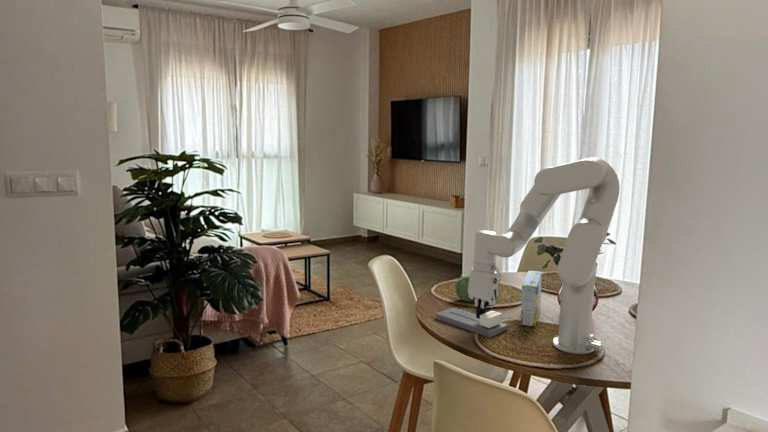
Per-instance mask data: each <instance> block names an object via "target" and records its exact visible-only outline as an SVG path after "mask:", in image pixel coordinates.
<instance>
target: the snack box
mask: <svg viewBox="0 0 768 432" xmlns="http://www.w3.org/2000/svg"><path fill="white" fill-rule="evenodd" d="M542 273H543V272H542V271H540V270H539V271H538V270H528V271H527V274H526V276H525V278H524V280H523V282H522V284H521V310H520V311H521V313H520V315H521V317H520V326H523V325H526V326H525V327H531V326H534V327H533V328H536V327H537V326H536V325H537V321H538V318H539V315H540V312H541V300H542V299H541V298H542Z"/></svg>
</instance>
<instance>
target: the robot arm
mask: <svg viewBox="0 0 768 432" xmlns="http://www.w3.org/2000/svg"><path fill="white" fill-rule="evenodd" d="M533 181H534V182H533V185H532V187H531V188H530V190H529V191H528V193H527V194H526V196H525V197H524V198H523V200H522V201H521V202H520V205H519V212H518V215H517V217H516V218H515V220H514V222H512V224H511V226H510V227H509V228H508V229H507V232H504V233H502V234H498V233H497V232H496V231H494V230H489V229H481V230H480V229H479V230H477V231H476V232H475V235H474V246H473V248H474V250H473V261H472V262H473V263H472V265H473V266H472V267H471V270H470V273H469V276H470V277H469V284H468V294H469V298H471V299H472V300H473V303H474V306H475V308H476V311H475V314H476V318H479V319H480V315H481V314H484V313H487V308H486V307H488V306H489V305H494V306H495V305H497V301H496V300H498V299H499V292H500V290H499V289H500V287H499V286H500V285H499V284H500V283H499V282H498V280H499V277H498V274H497V272H496V271H495V270H499V267H498V266H497V256H498V257H501V258H512V256H514V255H516V253H518V252H520V251H521V250H523V248H524V247H525V245H526V244H527V243H528V241H530V239H531V237H532V236H533V234H534V233H535V232H536V230H537V229H538V227H539V226H540V224H541V223H542V222H543V220H544V218H545V217H546V215H547V214H548V213H549V211H550V210H551V209H552V207H553V206H554V204H555V203H556V202H557V200H558V199H559V198H560V197H561V195H563V194H567V193H573V192H577V191H582V190H588V189H589V191H588V194H587V197H586V199H585V202H584V206H583V208H582V212H581V214H580V217H579V219H578V221H577V222H576V223H574V225H573V226H572V227H571V229H570V230H569V233H568V235H567V238H566V240H565V244H564V247H563V250H562V252H561V255H560V259H559V261H558V264H557V275H558V277H559V279H560V280H561V282H562V283H561V292H560V306H559V307H560V308H559V322H558V334H557V335H558V336H556V337H554V338H553V340H552V345H553V346H554V347H555V348H556V349H557V350H560V351H562V352H565V353H568V354H574V355H575V354H576V355H586V354H587V355H588V354H590V353H593V352H594V351H595V350H596V351H600V352H601V351H602V350H603V349H602V348H603V345H602V344H603V343H602V342H601V341H598V340H595V339H594V336H595V335H594V334H591V332H592V319H593V309H594V308H593V305H594V295H595V284H596V278H597V270H598V268H597V267H598V265H597V264H598V263H597V259H598V256H599V254H600V251H601V249H602V246H603V244H604V243H605V241H606V239H607V234H608V231H609V228H610V225H611V222H612V219H613V216H614V213H615V210H616V207H617V203H618V201H619V197H620V187H621V186H620V180H619V177H618V174H617V172H616V171H615V169H614V168H613V167H612V166H611V164H609V163H608V162H607V161H606V160H604V159H602V158H599V157H595V156H594V157H588V158H583V159H580V160H575V161H573V162H572V161H571V162H568V163H563V164H559V165H556V166H555V165H554V166H548V167H545V168H542V169H541V170H539V171H538V172H537V173H536V175H535V177H534V180H533Z"/></svg>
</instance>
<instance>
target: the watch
mask: <svg viewBox="0 0 768 432" xmlns="http://www.w3.org/2000/svg"><path fill="white" fill-rule="evenodd" d="M495 271H496V272H497V274H498V282H499V284H500V283H501V281H502V278H503V276H502V274H501V272H500V270H499V269H498V270H495Z"/></svg>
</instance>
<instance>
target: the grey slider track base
mask: <svg viewBox="0 0 768 432" xmlns="http://www.w3.org/2000/svg"><path fill="white" fill-rule="evenodd" d="M435 319H436V320H437V321H438V320H439V321H441V322H445V323H447V324H450V325H453V326H456V327H459V328H462V329H464V330H467V331H470V332H473V333H475V334H478V333H479V335H481V334H482V335H481V336H484V335H485V336H484V337H487V336H488V337H487V338H490V337H491V338H493V337H495V336H497V334H498V335H500V334H502V333H504V332H503V331H505V330H507V329H508V327H509V326H508V324H507V323H504V322H501V324H498V325H496V326H493V327H491V328H487V327H484V326H481V325H480V319H479V318H476V313H472V312H469V311H466V310H463V309H460V308H457V307H451V308H447V309H445V310H441V311H438V312H436V313H435ZM507 331H508V330H507ZM501 332H502V333H501ZM505 332H506V331H505ZM499 333H500V334H499ZM494 335H495V336H494ZM492 336H493V337H492Z"/></svg>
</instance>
